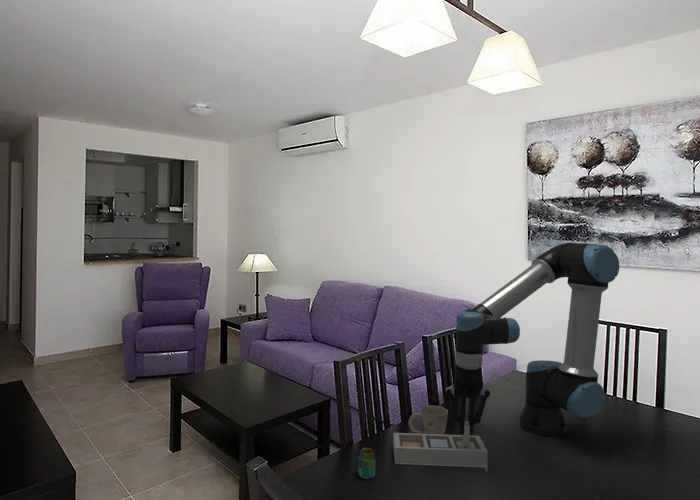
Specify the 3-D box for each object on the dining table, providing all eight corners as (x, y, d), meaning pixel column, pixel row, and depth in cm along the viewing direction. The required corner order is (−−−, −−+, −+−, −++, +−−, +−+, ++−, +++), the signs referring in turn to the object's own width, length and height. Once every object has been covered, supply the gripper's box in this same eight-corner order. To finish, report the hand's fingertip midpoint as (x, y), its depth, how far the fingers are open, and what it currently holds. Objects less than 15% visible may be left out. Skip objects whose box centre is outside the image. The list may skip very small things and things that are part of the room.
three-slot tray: (478, 453, 143) (479, 435, 142) (487, 472, 132) (488, 452, 131) (393, 450, 144) (393, 432, 144) (394, 468, 133) (395, 448, 133)
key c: (418, 450, 140) (418, 442, 140) (420, 458, 135) (420, 450, 135) (402, 449, 141) (402, 441, 140) (403, 457, 136) (403, 449, 136)
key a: (472, 450, 140) (472, 442, 140) (476, 458, 135) (476, 450, 135) (455, 449, 140) (455, 441, 140) (458, 457, 135) (459, 449, 135)
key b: (445, 447, 140) (445, 439, 140) (448, 455, 135) (448, 447, 135) (428, 446, 140) (429, 438, 140) (431, 454, 135) (431, 446, 135)
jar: (357, 475, 129) (357, 446, 129) (373, 474, 129) (374, 446, 129) (358, 484, 124) (359, 455, 124) (376, 484, 125) (376, 454, 124)
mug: (447, 448, 146) (448, 416, 146) (406, 443, 149) (407, 412, 148) (447, 436, 154) (448, 406, 154) (409, 432, 157) (409, 403, 156)
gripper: (487, 362, 140) (484, 440, 141) (443, 361, 140) (441, 438, 141) (494, 370, 132) (491, 452, 133) (448, 368, 133) (445, 450, 134)
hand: (465, 445), depth 137 cm, fingers closed
